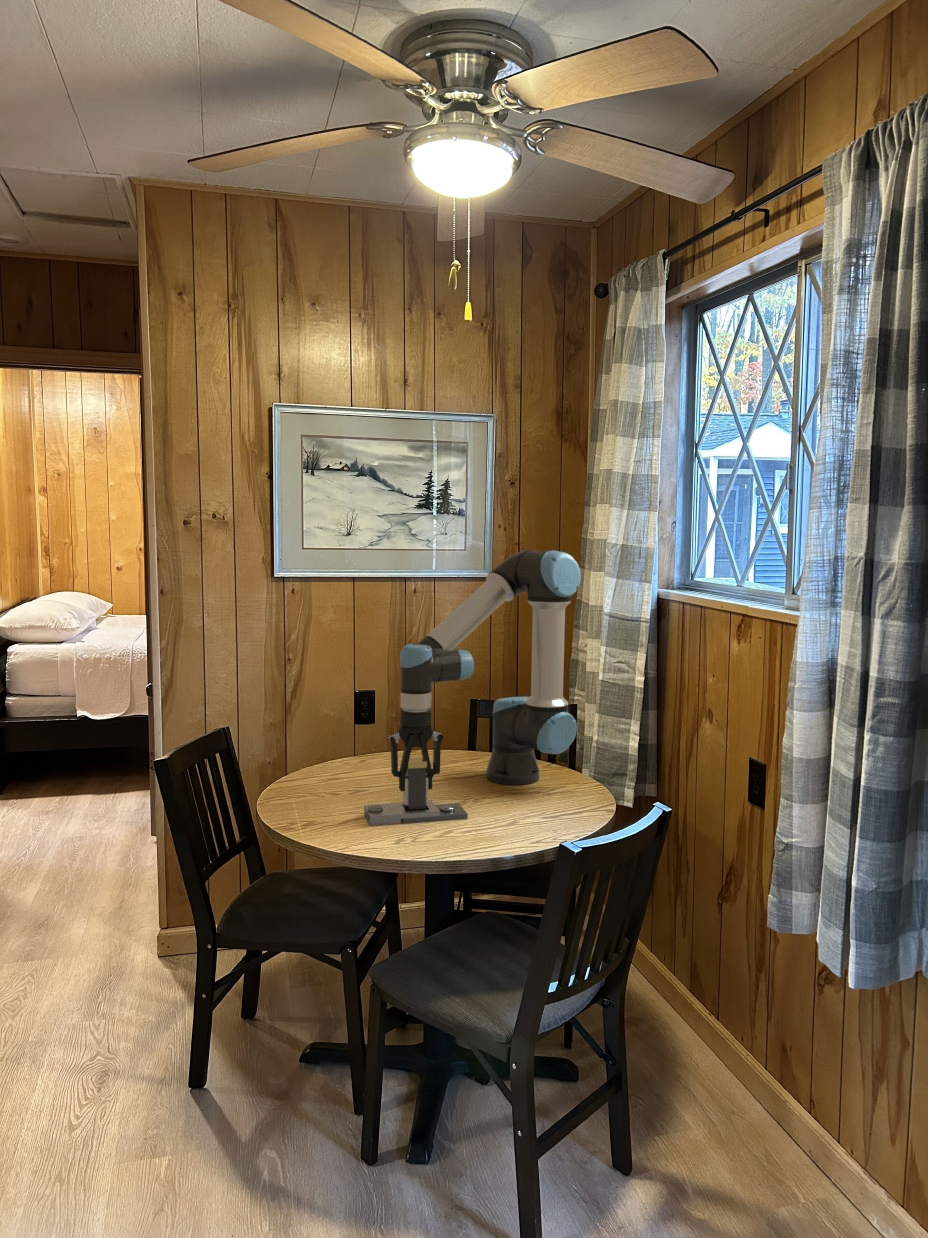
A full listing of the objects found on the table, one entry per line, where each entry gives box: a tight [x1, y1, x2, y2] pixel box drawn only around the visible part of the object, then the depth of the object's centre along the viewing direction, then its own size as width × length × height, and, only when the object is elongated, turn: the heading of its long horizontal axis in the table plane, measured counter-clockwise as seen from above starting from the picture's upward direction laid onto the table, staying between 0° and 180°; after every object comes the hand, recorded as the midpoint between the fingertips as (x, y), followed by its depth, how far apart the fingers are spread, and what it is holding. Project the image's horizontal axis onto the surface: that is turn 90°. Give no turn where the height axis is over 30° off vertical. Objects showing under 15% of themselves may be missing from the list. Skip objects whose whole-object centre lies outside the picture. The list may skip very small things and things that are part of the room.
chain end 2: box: [401, 802, 469, 824], centre depth 224 cm, size 16×9×2 cm, turn 105°
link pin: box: [406, 756, 427, 811], centre depth 222 cm, size 5×5×13 cm
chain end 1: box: [363, 799, 440, 827], centre depth 222 cm, size 17×9×3 cm, turn 105°
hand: (415, 802), depth 223 cm, fingers closed on link pin, 4 cm apart
